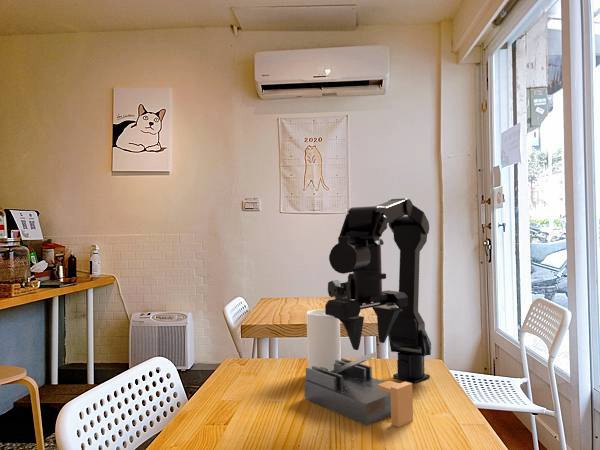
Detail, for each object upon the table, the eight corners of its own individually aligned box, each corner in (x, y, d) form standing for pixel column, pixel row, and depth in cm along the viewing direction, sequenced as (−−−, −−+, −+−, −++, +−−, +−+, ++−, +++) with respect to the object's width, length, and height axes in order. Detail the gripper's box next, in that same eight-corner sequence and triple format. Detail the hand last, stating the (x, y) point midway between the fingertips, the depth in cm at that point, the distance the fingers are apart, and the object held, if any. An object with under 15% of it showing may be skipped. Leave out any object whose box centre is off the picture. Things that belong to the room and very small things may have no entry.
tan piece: (391, 412, 89) (390, 376, 89) (413, 420, 85) (412, 383, 85) (376, 418, 87) (375, 382, 87) (398, 427, 83) (397, 389, 83)
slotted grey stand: (344, 385, 105) (343, 357, 105) (407, 408, 91) (406, 376, 91) (304, 398, 98) (304, 368, 98) (366, 425, 84) (365, 390, 84)
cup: (339, 383, 107) (337, 315, 107) (305, 381, 109) (303, 315, 109) (342, 372, 115) (341, 309, 115) (311, 370, 117) (309, 309, 117)
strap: (325, 377, 99) (324, 373, 99) (335, 375, 101) (333, 370, 101) (368, 359, 89) (366, 354, 90) (377, 356, 91) (376, 351, 91)
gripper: (369, 263, 103) (370, 331, 103) (306, 270, 91) (308, 347, 91) (408, 266, 94) (410, 340, 94) (344, 273, 83) (346, 358, 82)
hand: (369, 346), depth 91 cm, fingers open, 7 cm apart
